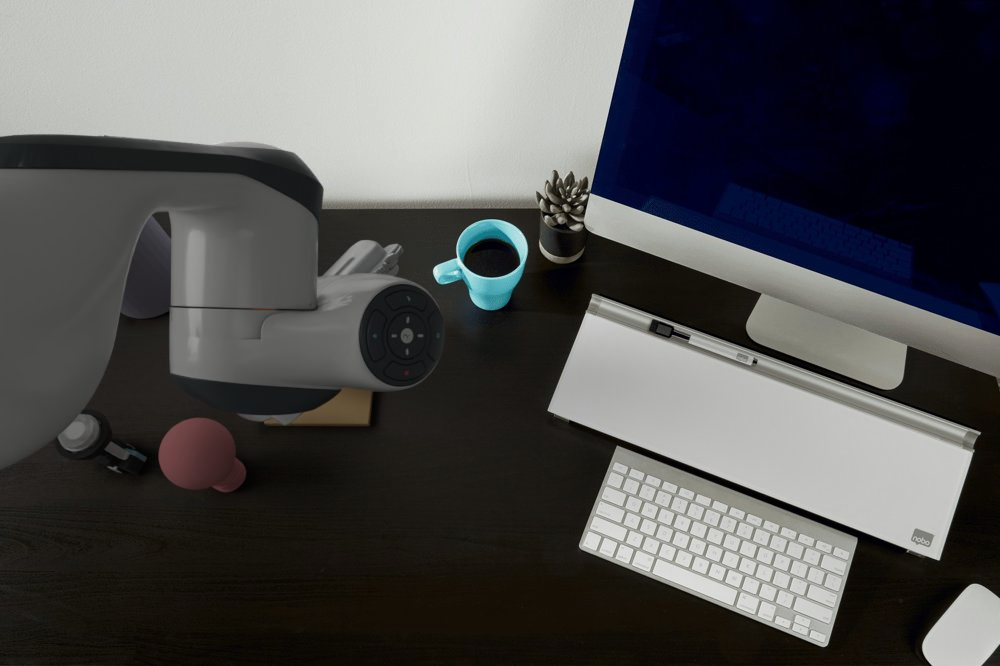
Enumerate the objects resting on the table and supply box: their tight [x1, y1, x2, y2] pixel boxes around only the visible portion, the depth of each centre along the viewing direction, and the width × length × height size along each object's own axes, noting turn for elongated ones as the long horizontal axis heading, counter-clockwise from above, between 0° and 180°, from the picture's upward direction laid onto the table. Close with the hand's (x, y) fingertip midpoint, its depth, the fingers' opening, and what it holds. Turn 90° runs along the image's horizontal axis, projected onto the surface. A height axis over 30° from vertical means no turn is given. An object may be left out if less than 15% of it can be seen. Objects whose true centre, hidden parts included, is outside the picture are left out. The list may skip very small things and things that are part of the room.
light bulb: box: [158, 417, 247, 493], centre depth 75 cm, size 7×7×12 cm
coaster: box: [263, 387, 374, 427], centre depth 85 cm, size 12×12×1 cm
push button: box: [54, 408, 148, 476], centre depth 78 cm, size 7×5×10 cm
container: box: [120, 214, 176, 320], centre depth 86 cm, size 10×10×15 cm
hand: (286, 322), depth 74 cm, fingers closed on bottle, 6 cm apart
